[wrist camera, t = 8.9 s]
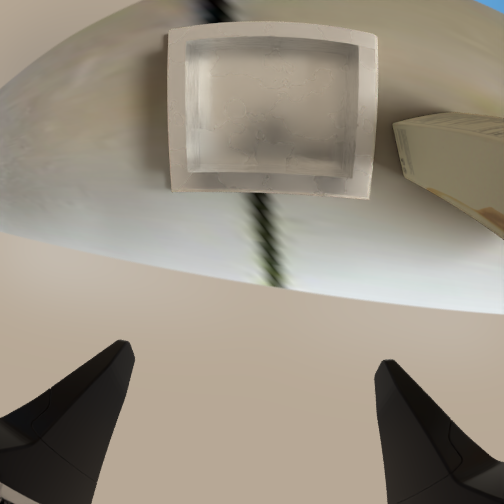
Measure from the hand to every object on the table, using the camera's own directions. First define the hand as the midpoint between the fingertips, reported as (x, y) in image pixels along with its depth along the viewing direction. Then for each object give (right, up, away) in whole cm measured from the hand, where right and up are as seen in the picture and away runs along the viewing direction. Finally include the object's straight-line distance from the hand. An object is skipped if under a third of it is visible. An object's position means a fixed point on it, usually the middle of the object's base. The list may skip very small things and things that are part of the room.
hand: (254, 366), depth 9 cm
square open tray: (+1, +13, +8) cm, 16 cm away
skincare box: (+13, +12, +8) cm, 19 cm away
